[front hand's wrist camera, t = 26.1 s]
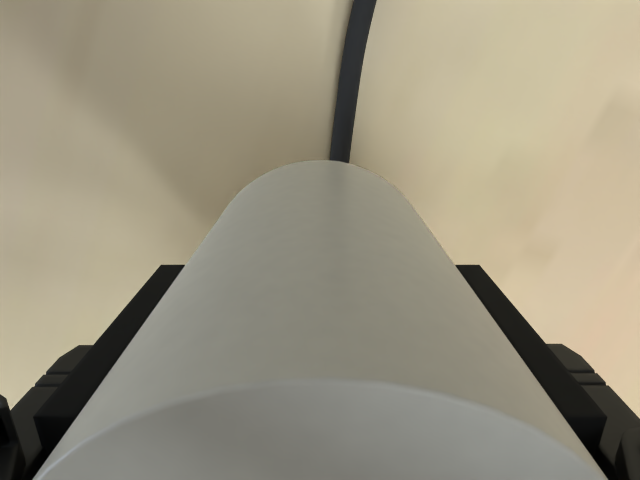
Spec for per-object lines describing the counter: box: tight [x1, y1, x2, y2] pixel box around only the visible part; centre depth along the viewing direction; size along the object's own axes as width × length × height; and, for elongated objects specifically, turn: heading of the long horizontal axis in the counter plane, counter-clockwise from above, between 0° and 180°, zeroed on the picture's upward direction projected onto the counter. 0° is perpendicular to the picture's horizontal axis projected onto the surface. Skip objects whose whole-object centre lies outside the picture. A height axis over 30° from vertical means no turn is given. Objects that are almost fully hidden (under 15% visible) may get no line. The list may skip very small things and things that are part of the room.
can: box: [32, 160, 608, 480], centre depth 11 cm, size 8×8×12 cm
